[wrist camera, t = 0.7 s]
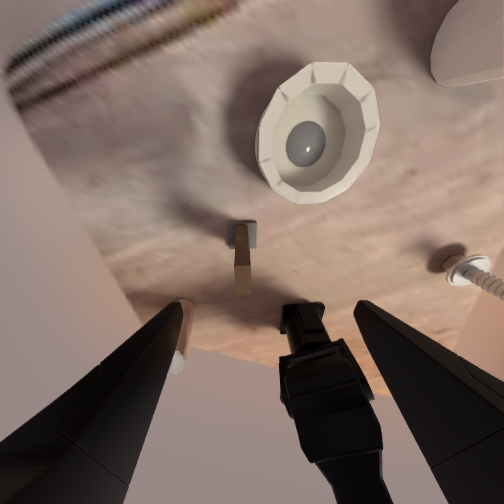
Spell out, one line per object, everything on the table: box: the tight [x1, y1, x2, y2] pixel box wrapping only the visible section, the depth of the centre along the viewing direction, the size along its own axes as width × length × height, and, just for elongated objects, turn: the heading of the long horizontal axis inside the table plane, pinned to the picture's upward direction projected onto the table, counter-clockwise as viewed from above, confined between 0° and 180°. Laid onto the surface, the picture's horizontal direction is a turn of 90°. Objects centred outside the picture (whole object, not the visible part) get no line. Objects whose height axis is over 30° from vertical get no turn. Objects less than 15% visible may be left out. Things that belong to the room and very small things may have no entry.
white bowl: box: [255, 62, 380, 204], centre depth 15 cm, size 9×9×4 cm
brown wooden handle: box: [228, 221, 257, 295], centre depth 17 cm, size 3×3×9 cm
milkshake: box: [166, 299, 196, 378], centre depth 22 cm, size 5×5×10 cm
